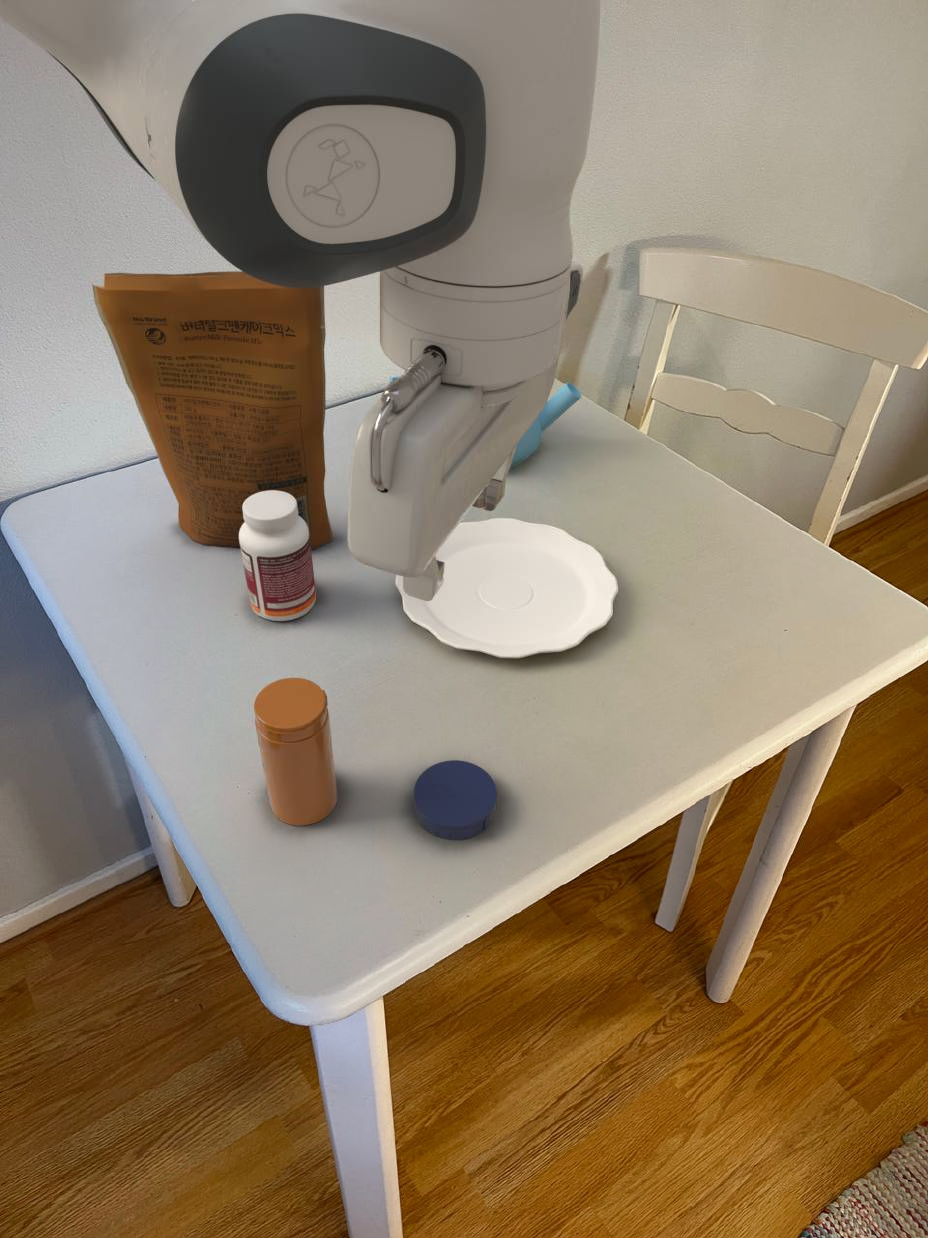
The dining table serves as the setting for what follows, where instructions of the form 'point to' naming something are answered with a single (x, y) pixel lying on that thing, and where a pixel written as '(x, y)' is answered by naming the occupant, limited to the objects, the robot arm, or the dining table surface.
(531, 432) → the teapot
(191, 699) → the dining table surface
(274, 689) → the jar
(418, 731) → the dining table surface
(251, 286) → the pancake mix bag
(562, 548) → the plate
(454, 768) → the jar lid
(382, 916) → the dining table surface
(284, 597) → the pill bottle
